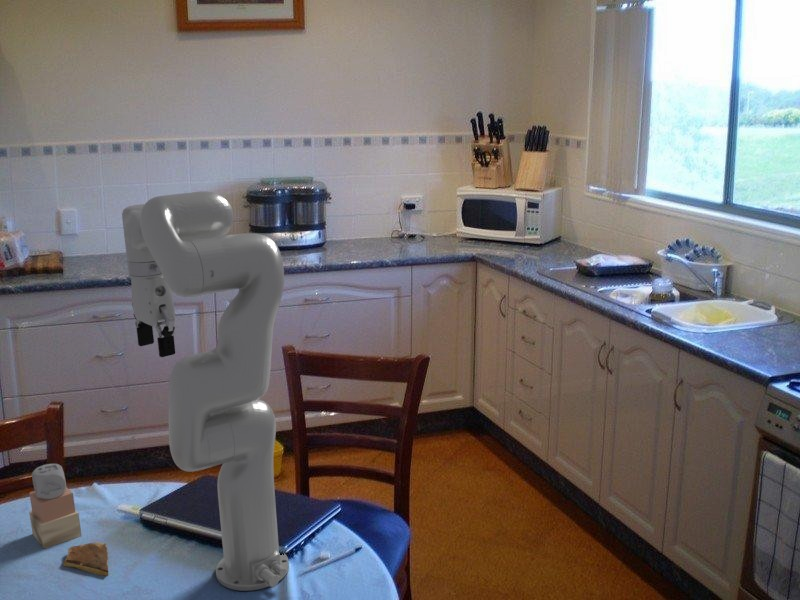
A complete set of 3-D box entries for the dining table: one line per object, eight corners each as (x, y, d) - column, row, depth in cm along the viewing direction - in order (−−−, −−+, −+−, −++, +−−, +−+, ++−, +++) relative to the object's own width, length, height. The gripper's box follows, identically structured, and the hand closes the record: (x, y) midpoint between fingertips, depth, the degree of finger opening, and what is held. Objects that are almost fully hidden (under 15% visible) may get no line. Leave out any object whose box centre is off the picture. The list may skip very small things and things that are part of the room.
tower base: (81, 536, 166) (78, 512, 165) (44, 549, 162) (40, 525, 161) (69, 522, 171) (66, 499, 170) (32, 534, 167) (29, 511, 166)
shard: (109, 579, 152) (108, 570, 152) (62, 588, 150) (61, 579, 150) (108, 548, 162) (106, 539, 162) (64, 556, 160) (63, 547, 159)
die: (67, 495, 163) (64, 470, 162) (39, 502, 161) (35, 478, 159) (62, 484, 167) (58, 460, 166) (34, 492, 165) (30, 467, 164)
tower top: (75, 512, 165) (72, 492, 164) (43, 523, 161) (40, 503, 160) (63, 501, 170) (61, 482, 168) (32, 511, 166) (29, 492, 165)
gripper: (185, 271, 168) (193, 355, 173) (146, 258, 181) (155, 336, 186) (148, 278, 164) (158, 364, 168) (112, 264, 176) (121, 344, 181)
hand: (156, 349), depth 177 cm, fingers open, 9 cm apart
